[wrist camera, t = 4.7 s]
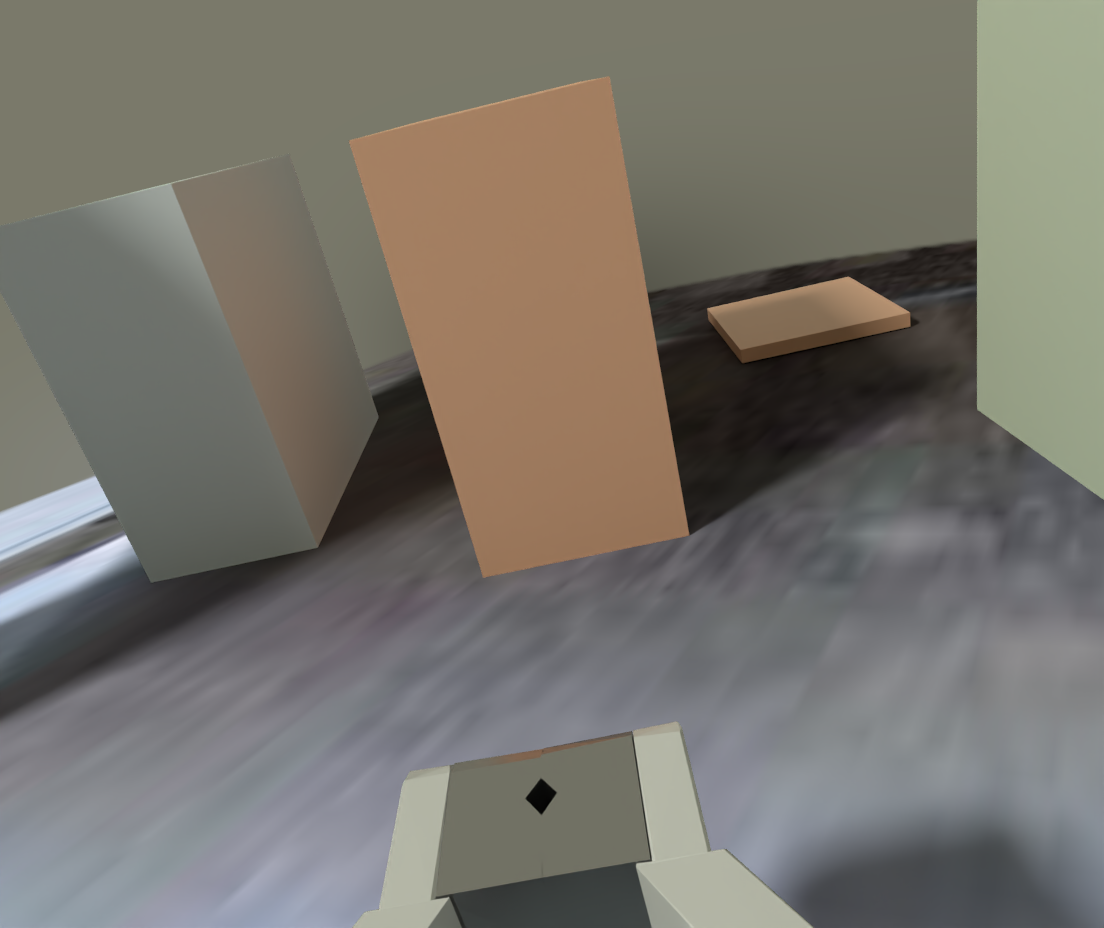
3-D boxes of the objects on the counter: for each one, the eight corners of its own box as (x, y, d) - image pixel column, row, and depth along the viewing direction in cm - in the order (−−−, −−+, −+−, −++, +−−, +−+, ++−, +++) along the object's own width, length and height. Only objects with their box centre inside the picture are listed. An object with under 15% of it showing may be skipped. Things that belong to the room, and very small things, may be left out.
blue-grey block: (379, 417, 38) (289, 153, 33) (318, 548, 27) (170, 183, 22) (258, 444, 39) (152, 187, 34) (151, 583, 28) (-30, 233, 23)
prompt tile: (849, 288, 40) (848, 276, 39) (910, 326, 33) (909, 312, 33) (708, 320, 40) (707, 308, 40) (742, 363, 34) (740, 349, 33)
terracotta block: (638, 392, 34) (579, 81, 29) (689, 536, 23) (609, 76, 18) (499, 422, 34) (417, 121, 29) (483, 578, 23) (348, 140, 18)
